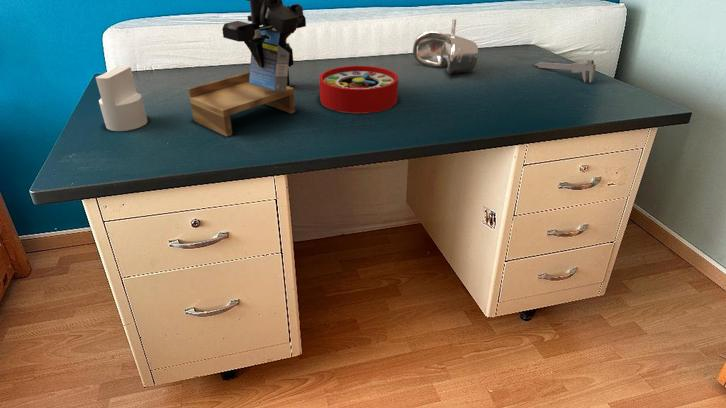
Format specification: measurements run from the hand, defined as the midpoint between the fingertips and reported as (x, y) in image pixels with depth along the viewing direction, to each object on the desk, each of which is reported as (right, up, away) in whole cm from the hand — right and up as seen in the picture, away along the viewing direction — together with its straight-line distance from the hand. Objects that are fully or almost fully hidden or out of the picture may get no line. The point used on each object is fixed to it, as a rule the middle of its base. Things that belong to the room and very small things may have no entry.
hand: (269, 65), depth 112 cm
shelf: (-7, -10, +8) cm, 15 cm away
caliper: (+80, +7, +37) cm, 88 cm away
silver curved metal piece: (+45, +10, +41) cm, 62 cm away
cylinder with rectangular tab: (-34, -13, +4) cm, 36 cm away
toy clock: (+20, -4, +18) cm, 27 cm away
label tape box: (-1, -5, +2) cm, 5 cm away
